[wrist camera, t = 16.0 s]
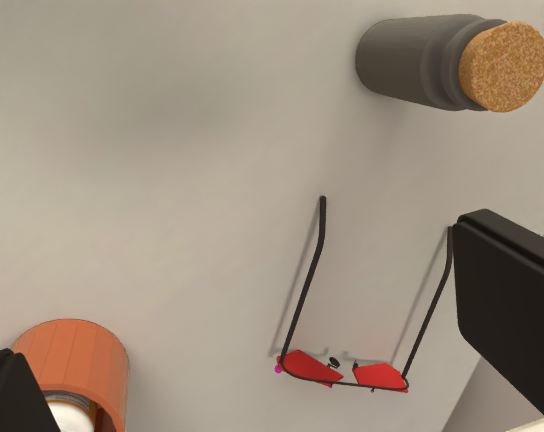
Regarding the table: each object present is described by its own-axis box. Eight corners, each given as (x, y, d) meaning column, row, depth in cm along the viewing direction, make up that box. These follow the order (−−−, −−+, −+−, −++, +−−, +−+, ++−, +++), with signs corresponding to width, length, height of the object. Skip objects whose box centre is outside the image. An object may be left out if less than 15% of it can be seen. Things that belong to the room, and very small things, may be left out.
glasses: (266, 355, 47) (279, 389, 43) (320, 194, 43) (340, 213, 38) (391, 370, 52) (415, 403, 47) (451, 225, 47) (484, 245, 43)
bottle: (373, 108, 41) (483, 142, 28) (342, 44, 39) (446, 48, 25) (431, 70, 42) (570, 86, 28) (404, 4, 39) (541, -13, 25)
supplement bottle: (76, 407, 44) (55, 508, 34) (19, 378, 41) (-20, 478, 32) (116, 363, 43) (107, 453, 34) (61, 331, 41) (34, 418, 32)
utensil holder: (-23, 382, 42) (-63, 462, 34) (55, 296, 41) (32, 358, 33) (80, 435, 46) (65, 516, 38) (152, 357, 45) (153, 425, 37)
